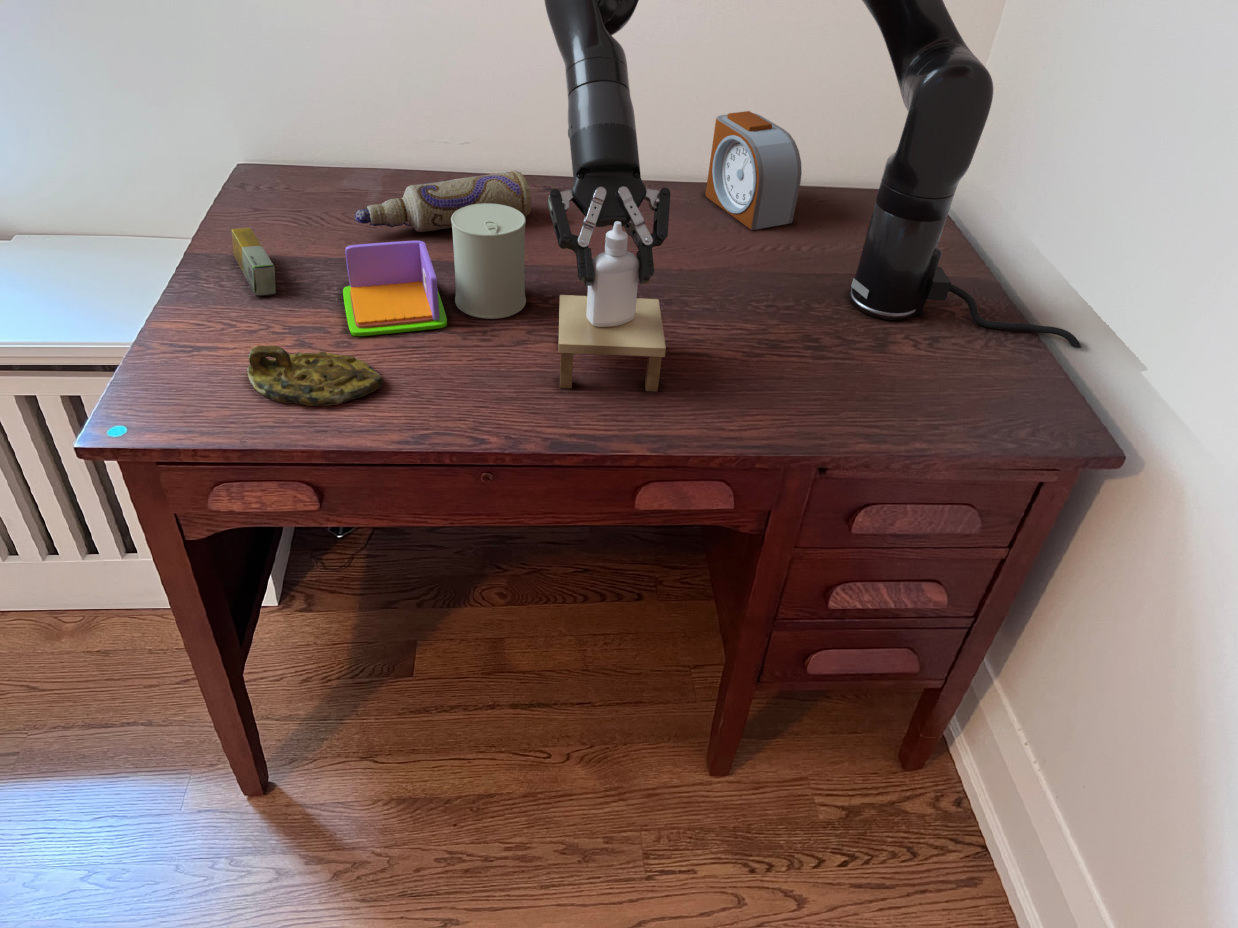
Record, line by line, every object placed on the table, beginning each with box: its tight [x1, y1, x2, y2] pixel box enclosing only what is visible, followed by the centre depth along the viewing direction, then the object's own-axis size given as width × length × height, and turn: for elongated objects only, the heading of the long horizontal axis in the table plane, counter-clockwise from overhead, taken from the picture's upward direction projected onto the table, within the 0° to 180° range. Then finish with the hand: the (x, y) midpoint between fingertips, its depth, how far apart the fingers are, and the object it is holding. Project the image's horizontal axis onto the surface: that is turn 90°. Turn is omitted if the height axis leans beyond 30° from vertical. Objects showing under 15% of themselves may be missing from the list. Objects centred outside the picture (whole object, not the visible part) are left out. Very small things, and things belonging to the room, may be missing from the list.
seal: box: [246, 345, 384, 407], centre depth 98 cm, size 9×5×15 cm
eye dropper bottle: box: [586, 221, 640, 327], centre depth 99 cm, size 4×6×12 cm
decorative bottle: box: [354, 170, 533, 233], centre depth 130 cm, size 26×8×7 cm, turn 116°
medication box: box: [230, 227, 277, 297], centre depth 115 cm, size 12×3×4 cm, turn 31°
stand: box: [557, 294, 667, 393], centre depth 105 cm, size 12×11×6 cm
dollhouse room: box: [342, 240, 448, 337], centre depth 111 cm, size 12×12×7 cm
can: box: [451, 203, 527, 320], centre depth 112 cm, size 9×9×12 cm
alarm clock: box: [705, 110, 803, 231], centre depth 141 cm, size 15×8×14 cm, turn 28°
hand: (617, 282), depth 98 cm, fingers closed on eye dropper bottle, 5 cm apart
